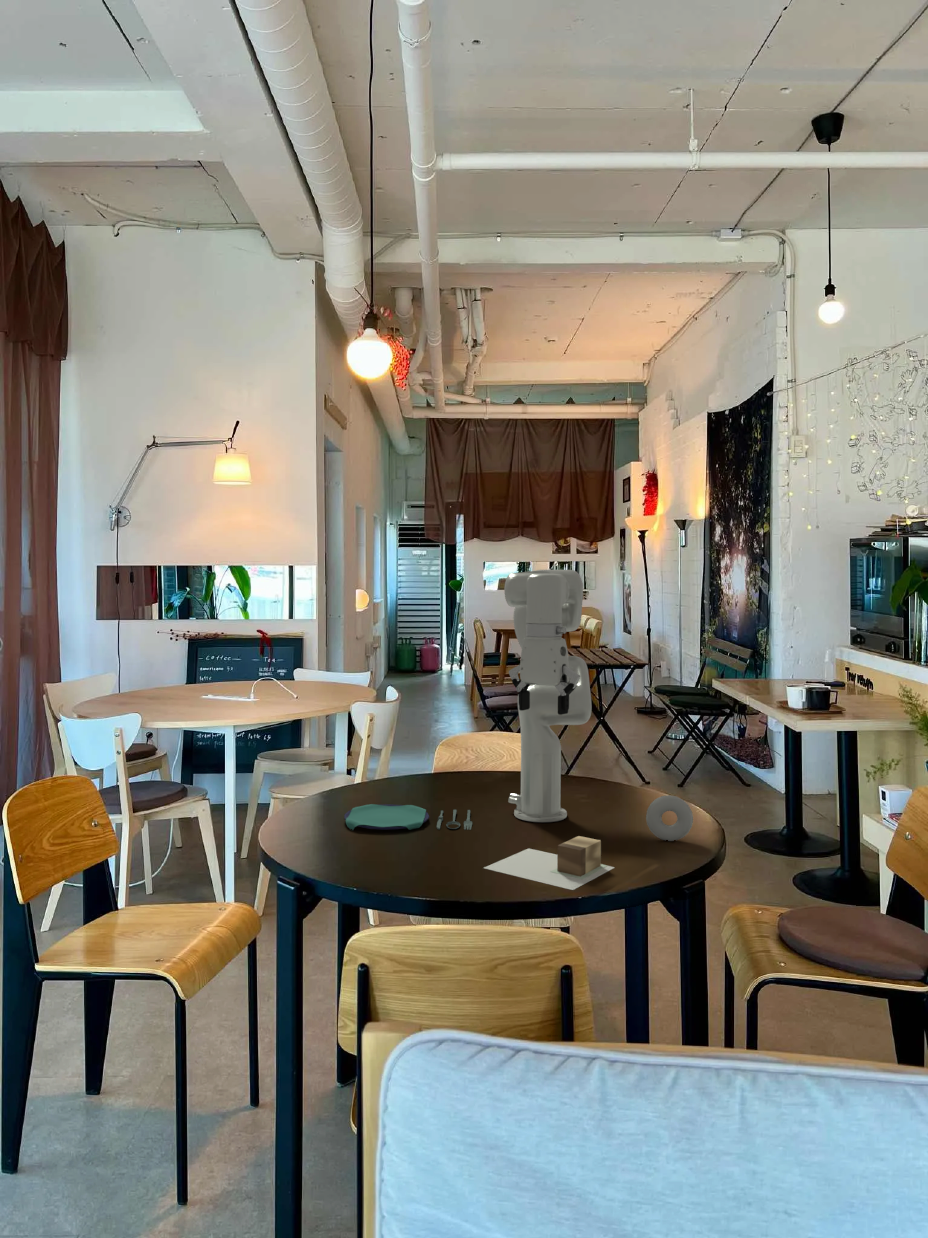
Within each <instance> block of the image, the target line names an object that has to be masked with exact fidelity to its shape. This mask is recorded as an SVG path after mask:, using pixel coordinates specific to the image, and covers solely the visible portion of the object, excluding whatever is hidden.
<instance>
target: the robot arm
mask: <svg viewBox="0 0 928 1238" xmlns="http://www.w3.org/2000/svg"><path fill="white" fill-rule="evenodd" d="M503 590H504V592H503V593H504V599H505V602H506V604H507V605H508V606H509V607H511V608H514V610H513V617H512V619H513V628H514V633H515V636H516V639H517V641H518V644H519V647H520V649H521V653H520V663H519V664H518V665H517V666H514V667H513V668H511V669H510V670H508V674H509V677H510V679H511V683H512V684H513V686H514V687H515V688H516V692H517V693H518V694H517V710H518V718H519V725H520V728H519V729H520V794H519V793H518V794H517V793H509V797H508V801H507V802H508V803H509V804H515V805H516V808H515V809H514V811H513V814H514V816H515V818H516V819H519V820H522V821H526V822H533V823H553V822H560V821H563V820H564V819H566V818H567V816H568V812H567V810H566V809H565V808H562V807H561V788H562V787H561V783H562V781H561V779H562V777H561V776H562V775H561V774H562V772H561V771H562V770H561V769H562V767H561V765H562V764H561V762H562V759H561V758H562V756H561V755H562V746H561V740H560V739H559V737H558V736H557V734H556V733H555V731H553V730H552V728H551V727H550V726H559V725H562V726H567V725H568V726H579V725H580V726H581V725H584V724H586V723H587V722H588V721H589V720H590V719H591V716H592V710H593V709H592V695H591V688H590V687H591V685H590V683H591V682H590V675H589V669H588V665H587V663H586V661H585V659H583V658H582V657H579V656H576V655H569V651H568V646H567V640H566V638H562V636H563V634H564V635H565V634H566V633H567V632H574V631H575V632H576V630H577V629H578V628H580V626H581V621H582V612H583V600H584V585H583V580H582V577H581V575H580V574H579V573H578V572H577V571H576V570H573V569H536V570H529V571H524V572H523V571H521V572H511V573H509V574H508V575H507V576H506V579H505V582H504V589H503ZM519 677H520V678H519Z"/></svg>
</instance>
